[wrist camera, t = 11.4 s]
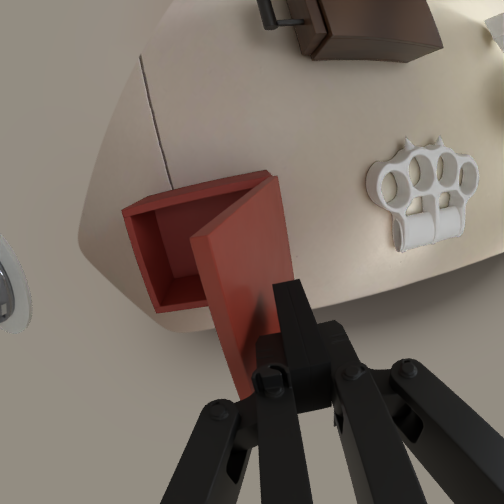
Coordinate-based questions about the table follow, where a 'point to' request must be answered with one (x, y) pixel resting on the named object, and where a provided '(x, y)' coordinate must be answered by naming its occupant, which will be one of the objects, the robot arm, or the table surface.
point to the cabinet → (377, 30)
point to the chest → (179, 236)
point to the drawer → (298, 22)
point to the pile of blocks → (497, 29)
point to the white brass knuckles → (425, 193)
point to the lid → (244, 274)
